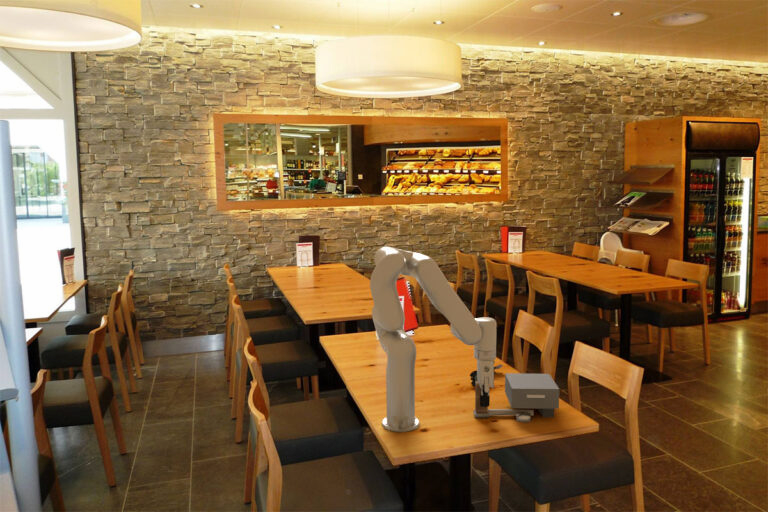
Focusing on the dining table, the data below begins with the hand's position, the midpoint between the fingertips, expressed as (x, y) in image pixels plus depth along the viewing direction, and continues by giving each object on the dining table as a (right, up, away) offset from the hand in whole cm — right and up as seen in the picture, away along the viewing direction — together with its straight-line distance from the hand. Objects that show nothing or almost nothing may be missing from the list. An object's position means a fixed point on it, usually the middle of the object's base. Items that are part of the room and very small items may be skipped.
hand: (484, 404), depth 207 cm
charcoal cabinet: (+17, -3, +5) cm, 18 cm away
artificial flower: (+7, 0, +40) cm, 40 cm away
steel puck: (+13, -5, -3) cm, 14 cm away
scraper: (+7, -4, 0) cm, 8 cm away
